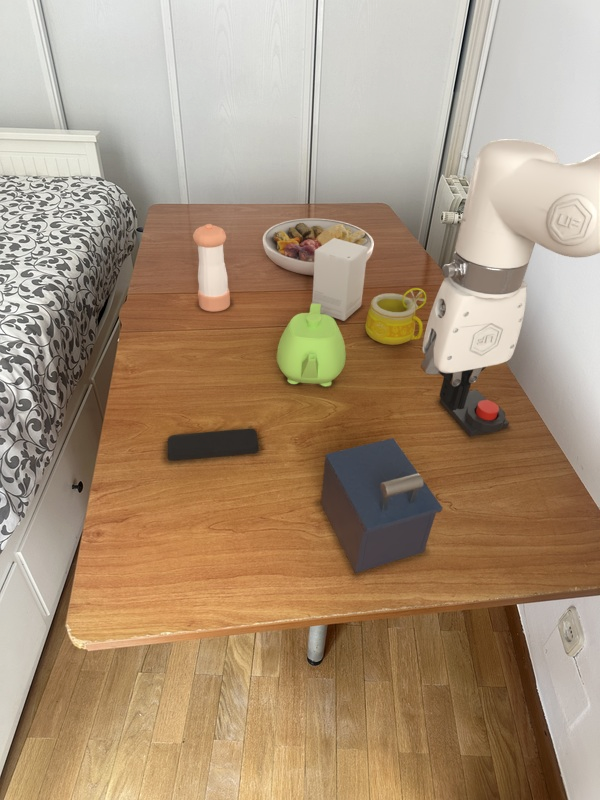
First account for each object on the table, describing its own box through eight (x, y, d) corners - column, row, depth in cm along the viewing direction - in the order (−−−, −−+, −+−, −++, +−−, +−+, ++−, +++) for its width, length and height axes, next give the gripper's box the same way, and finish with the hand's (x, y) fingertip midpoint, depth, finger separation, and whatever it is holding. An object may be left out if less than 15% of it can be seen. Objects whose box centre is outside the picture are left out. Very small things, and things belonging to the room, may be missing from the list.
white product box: (362, 306, 128) (369, 246, 119) (344, 322, 122) (350, 260, 113) (329, 295, 132) (334, 236, 122) (310, 310, 126) (313, 249, 116)
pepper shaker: (204, 314, 123) (196, 232, 111) (195, 299, 128) (187, 220, 116) (234, 308, 125) (230, 228, 113) (224, 294, 130) (220, 216, 118)
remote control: (256, 435, 93) (167, 440, 90) (256, 427, 92) (166, 433, 89) (259, 455, 89) (167, 461, 87) (259, 447, 88) (166, 453, 86)
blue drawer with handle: (441, 511, 68) (450, 483, 65) (366, 533, 65) (371, 504, 62) (392, 441, 78) (398, 413, 75) (325, 457, 75) (327, 429, 72)
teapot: (343, 407, 99) (350, 350, 91) (271, 401, 99) (271, 344, 91) (344, 346, 114) (349, 293, 106) (281, 342, 115) (282, 289, 107)
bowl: (277, 229, 162) (277, 203, 157) (376, 241, 158) (379, 214, 153) (250, 273, 139) (249, 244, 134) (365, 287, 135) (369, 258, 130)
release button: (500, 418, 94) (503, 410, 93) (483, 422, 93) (485, 415, 92) (488, 405, 97) (491, 398, 96) (471, 409, 96) (473, 402, 95)
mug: (354, 337, 117) (360, 288, 110) (378, 317, 124) (385, 269, 117) (408, 358, 112) (418, 307, 104) (429, 335, 119) (440, 286, 112)
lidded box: (424, 552, 75) (438, 507, 69) (355, 573, 72) (363, 528, 66) (383, 487, 84) (392, 442, 78) (320, 503, 81) (325, 458, 75)
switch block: (511, 432, 95) (516, 419, 93) (473, 441, 93) (477, 429, 91) (475, 394, 103) (479, 381, 102) (439, 402, 101) (442, 389, 99)
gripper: (443, 295, 52) (412, 434, 64) (568, 277, 56) (518, 410, 68) (407, 262, 58) (385, 396, 69) (524, 248, 62) (484, 376, 73)
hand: (451, 403), depth 69 cm, fingers closed
